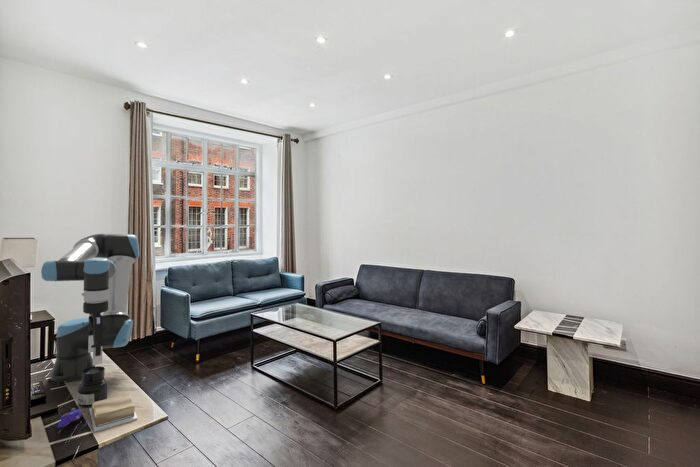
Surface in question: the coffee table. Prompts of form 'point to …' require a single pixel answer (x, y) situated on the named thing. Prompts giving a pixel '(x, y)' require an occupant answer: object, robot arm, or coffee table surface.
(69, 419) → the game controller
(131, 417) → the grey thin flat slab
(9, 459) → the coffee table surface
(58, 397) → the coffee table surface
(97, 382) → the ink bottle
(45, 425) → the coffee table surface
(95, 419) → the oak plinth
